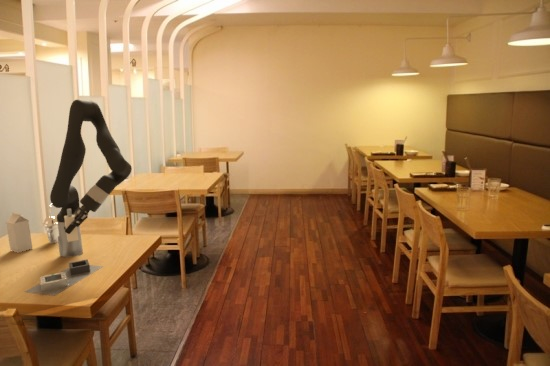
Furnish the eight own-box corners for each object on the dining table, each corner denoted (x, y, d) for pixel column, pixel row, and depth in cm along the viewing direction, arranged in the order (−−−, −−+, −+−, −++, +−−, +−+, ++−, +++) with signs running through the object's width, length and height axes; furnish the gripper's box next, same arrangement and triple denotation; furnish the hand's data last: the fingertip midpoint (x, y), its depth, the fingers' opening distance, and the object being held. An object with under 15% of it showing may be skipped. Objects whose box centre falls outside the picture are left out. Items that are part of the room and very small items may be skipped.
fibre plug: (68, 241, 172) (63, 210, 169) (67, 239, 175) (63, 208, 173) (78, 240, 174) (74, 209, 171) (77, 237, 177) (73, 207, 175)
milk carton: (18, 253, 206) (12, 215, 202) (10, 251, 210) (4, 214, 206) (32, 248, 212) (27, 212, 208) (25, 246, 215) (19, 210, 212)
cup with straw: (41, 244, 219) (35, 206, 215) (53, 238, 227) (48, 202, 223) (55, 244, 217) (50, 207, 213) (67, 239, 225) (62, 202, 221)
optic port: (41, 292, 160) (40, 284, 159) (40, 283, 167) (39, 276, 167) (67, 286, 164) (66, 278, 163) (66, 278, 172) (65, 271, 171)
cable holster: (71, 275, 175) (70, 268, 174) (69, 269, 181) (69, 262, 180) (90, 271, 178) (89, 264, 178) (88, 265, 184) (87, 259, 184)
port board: (24, 295, 161) (24, 291, 160) (76, 267, 187) (75, 263, 187) (55, 299, 157) (54, 295, 157) (103, 269, 184) (103, 266, 183)
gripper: (84, 189, 180) (56, 222, 177) (89, 196, 168) (59, 230, 165) (99, 200, 184) (72, 231, 180) (105, 206, 172) (76, 241, 168)
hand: (66, 231), depth 173 cm, fingers closed on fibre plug, 4 cm apart
